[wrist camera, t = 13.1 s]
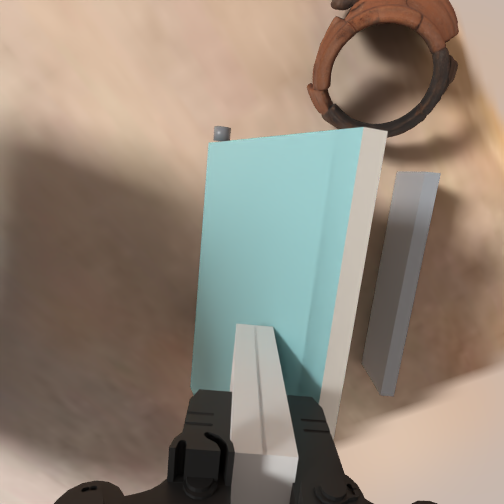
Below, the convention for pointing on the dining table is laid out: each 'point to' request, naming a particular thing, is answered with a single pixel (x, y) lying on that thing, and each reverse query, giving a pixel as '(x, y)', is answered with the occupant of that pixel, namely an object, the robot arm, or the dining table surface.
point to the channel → (394, 272)
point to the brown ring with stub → (377, 12)
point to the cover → (286, 254)
